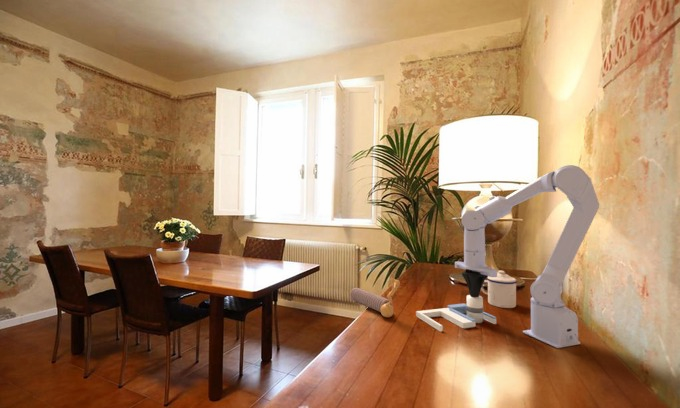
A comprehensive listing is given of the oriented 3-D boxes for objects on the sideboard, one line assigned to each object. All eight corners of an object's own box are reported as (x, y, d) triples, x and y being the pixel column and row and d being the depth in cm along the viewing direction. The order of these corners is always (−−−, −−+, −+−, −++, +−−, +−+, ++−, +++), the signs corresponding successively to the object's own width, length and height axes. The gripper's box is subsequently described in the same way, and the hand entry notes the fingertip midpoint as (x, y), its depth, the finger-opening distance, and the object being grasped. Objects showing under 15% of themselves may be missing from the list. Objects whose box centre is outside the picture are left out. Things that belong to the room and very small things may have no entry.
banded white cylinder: (485, 323, 85) (485, 299, 86) (469, 323, 86) (469, 298, 86) (479, 317, 90) (479, 294, 90) (463, 317, 90) (463, 294, 90)
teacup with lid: (521, 305, 102) (521, 271, 102) (510, 310, 97) (509, 274, 97) (486, 296, 112) (486, 266, 112) (474, 301, 106) (474, 268, 106)
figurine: (382, 312, 95) (382, 274, 95) (401, 313, 93) (401, 275, 93) (378, 321, 87) (378, 279, 87) (399, 323, 85) (398, 281, 85)
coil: (394, 299, 93) (359, 286, 108) (383, 300, 91) (349, 287, 106) (393, 314, 93) (358, 299, 108) (382, 315, 91) (348, 300, 106)
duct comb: (496, 323, 85) (496, 316, 85) (440, 331, 80) (440, 323, 80) (466, 309, 97) (466, 303, 97) (415, 315, 91) (415, 308, 91)
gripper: (505, 253, 83) (505, 302, 82) (467, 247, 96) (467, 289, 96) (486, 254, 80) (486, 305, 80) (449, 248, 94) (449, 290, 94)
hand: (474, 296), depth 88 cm, fingers closed
